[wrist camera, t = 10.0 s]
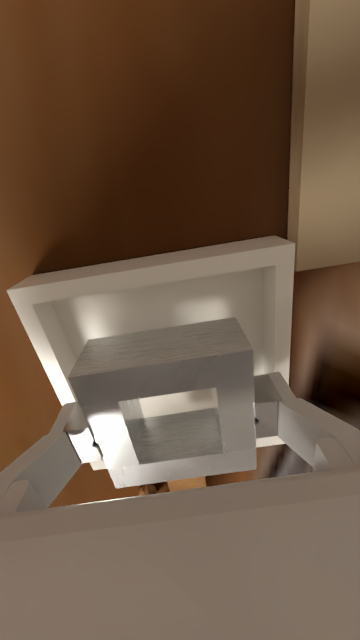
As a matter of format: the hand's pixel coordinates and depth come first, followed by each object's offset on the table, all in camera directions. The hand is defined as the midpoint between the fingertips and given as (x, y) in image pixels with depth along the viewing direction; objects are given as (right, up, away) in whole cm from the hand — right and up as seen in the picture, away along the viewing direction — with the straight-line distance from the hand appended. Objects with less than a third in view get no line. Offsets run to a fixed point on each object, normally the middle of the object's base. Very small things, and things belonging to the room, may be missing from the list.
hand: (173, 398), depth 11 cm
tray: (0, +1, +3) cm, 3 cm away
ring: (0, 0, +1) cm, 1 cm away
